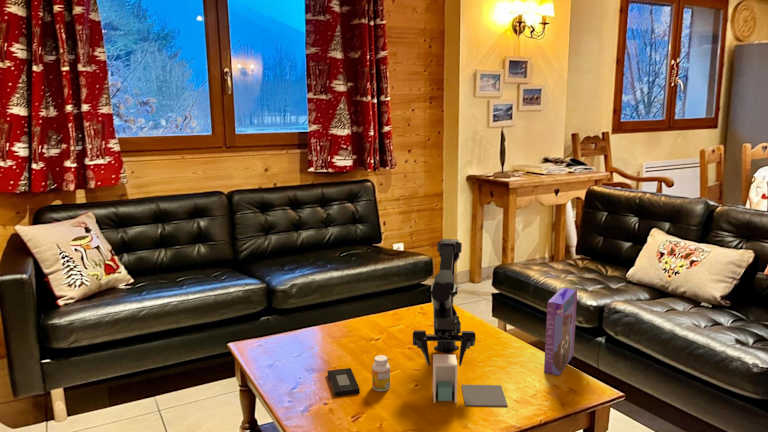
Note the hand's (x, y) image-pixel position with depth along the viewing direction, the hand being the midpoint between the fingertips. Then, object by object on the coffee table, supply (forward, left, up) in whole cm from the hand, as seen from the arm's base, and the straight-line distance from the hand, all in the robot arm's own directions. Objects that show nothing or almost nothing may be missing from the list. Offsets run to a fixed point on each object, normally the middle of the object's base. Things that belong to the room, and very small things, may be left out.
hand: (444, 365), depth 173 cm
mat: (-7, +9, -9) cm, 15 cm away
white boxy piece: (+1, +1, -9) cm, 9 cm away
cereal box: (-42, +16, -9) cm, 46 cm away
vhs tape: (+15, -27, -10) cm, 33 cm away
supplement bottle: (+9, -17, -9) cm, 21 cm away
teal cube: (+1, +1, -9) cm, 9 cm away
